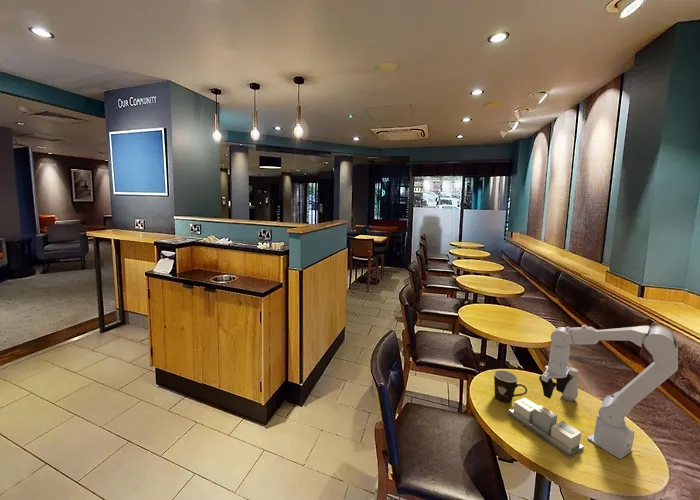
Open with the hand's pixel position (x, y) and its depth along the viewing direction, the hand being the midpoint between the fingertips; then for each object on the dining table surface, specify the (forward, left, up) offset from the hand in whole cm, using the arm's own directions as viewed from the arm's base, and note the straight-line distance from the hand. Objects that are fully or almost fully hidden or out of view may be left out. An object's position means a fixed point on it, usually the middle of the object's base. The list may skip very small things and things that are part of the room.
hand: (553, 394), depth 117 cm
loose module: (-3, +9, -9) cm, 12 cm away
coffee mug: (+14, +6, -10) cm, 18 cm away
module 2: (-10, +9, -9) cm, 16 cm away
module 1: (+4, +8, -9) cm, 13 cm away
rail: (-3, +9, -10) cm, 14 cm away
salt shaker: (+4, -19, -10) cm, 22 cm away
